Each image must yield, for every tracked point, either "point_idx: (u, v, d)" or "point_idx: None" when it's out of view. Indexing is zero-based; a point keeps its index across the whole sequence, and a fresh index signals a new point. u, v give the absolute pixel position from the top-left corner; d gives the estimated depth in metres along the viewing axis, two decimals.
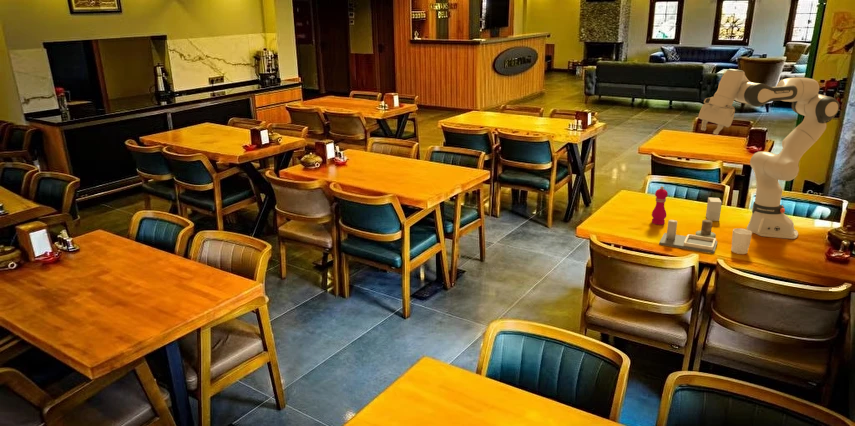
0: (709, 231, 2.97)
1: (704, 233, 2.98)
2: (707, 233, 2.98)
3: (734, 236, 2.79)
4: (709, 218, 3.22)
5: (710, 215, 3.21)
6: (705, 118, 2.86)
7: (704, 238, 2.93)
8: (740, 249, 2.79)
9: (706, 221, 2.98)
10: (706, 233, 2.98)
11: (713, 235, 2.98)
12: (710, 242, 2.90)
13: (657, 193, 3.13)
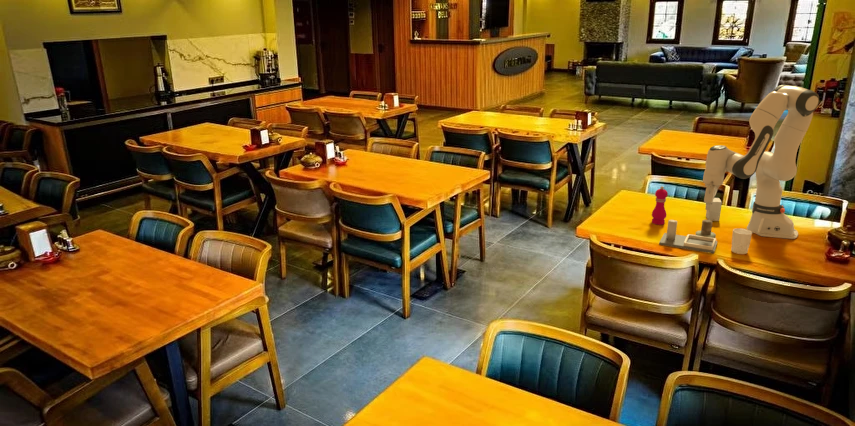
0: (709, 231, 2.97)
1: (704, 233, 2.98)
2: (707, 233, 2.98)
3: (734, 236, 2.79)
4: (709, 218, 3.22)
5: (710, 215, 3.21)
6: None
7: (704, 238, 2.93)
8: (740, 249, 2.79)
9: (706, 221, 2.98)
10: (706, 233, 2.98)
11: (713, 235, 2.98)
12: (710, 242, 2.90)
13: (657, 193, 3.13)
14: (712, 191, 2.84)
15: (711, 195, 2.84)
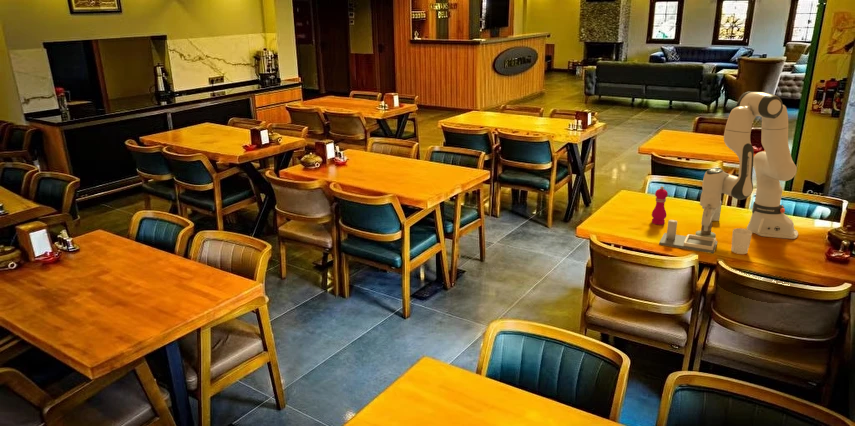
0: (709, 231, 2.97)
1: (704, 233, 2.98)
2: (707, 233, 2.98)
3: (734, 236, 2.79)
4: None
5: None
6: None
7: (704, 238, 2.93)
8: (740, 249, 2.79)
9: None
10: (706, 233, 2.98)
11: (713, 235, 2.98)
12: (710, 242, 2.90)
13: (657, 193, 3.13)
14: (709, 214, 2.87)
15: (708, 218, 2.88)
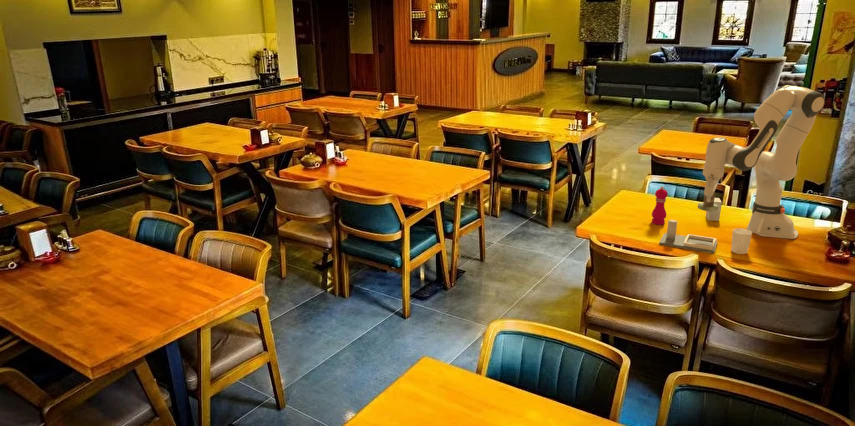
0: (711, 202, 2.90)
1: (707, 204, 2.91)
2: (710, 204, 2.91)
3: (734, 236, 2.79)
4: (709, 218, 3.22)
5: (710, 215, 3.21)
6: None
7: (704, 238, 2.93)
8: (740, 249, 2.79)
9: None
10: (709, 205, 2.91)
11: (716, 206, 2.91)
12: (710, 242, 2.90)
13: (657, 193, 3.13)
14: (712, 184, 2.81)
15: (711, 188, 2.81)
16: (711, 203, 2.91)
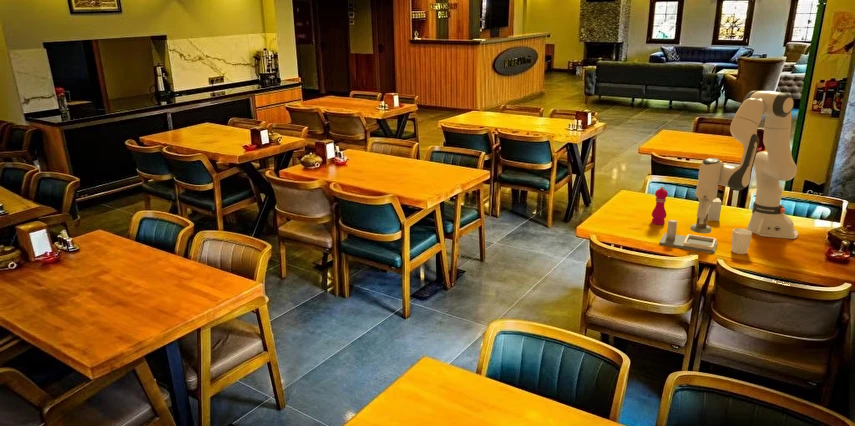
0: (704, 224, 2.84)
1: (699, 226, 2.85)
2: (702, 226, 2.84)
3: (734, 236, 2.79)
4: (709, 218, 3.22)
5: (710, 215, 3.21)
6: None
7: (704, 238, 2.93)
8: (740, 249, 2.79)
9: None
10: (701, 227, 2.84)
11: (709, 228, 2.84)
12: (710, 242, 2.90)
13: (657, 193, 3.13)
14: (705, 206, 2.74)
15: (704, 210, 2.74)
16: (704, 225, 2.84)
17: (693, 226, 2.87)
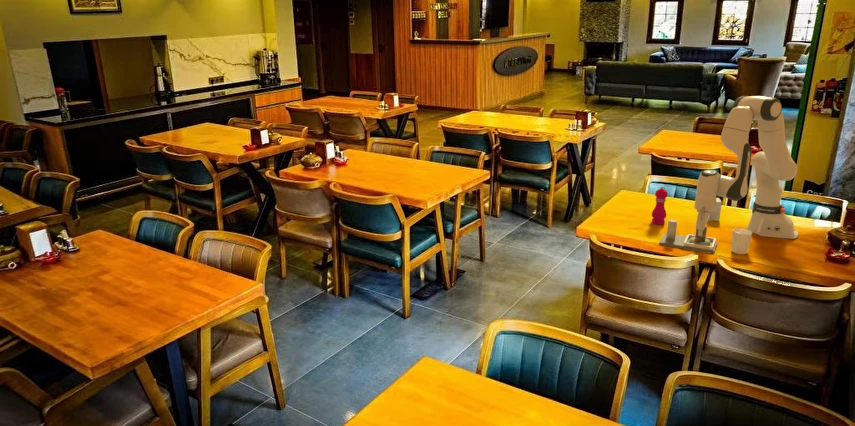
0: (703, 238, 2.86)
1: (698, 240, 2.87)
2: (701, 240, 2.86)
3: (734, 236, 2.79)
4: (709, 218, 3.22)
5: (710, 215, 3.21)
6: None
7: None
8: (740, 249, 2.79)
9: None
10: (700, 240, 2.86)
11: (708, 242, 2.86)
12: (710, 242, 2.90)
13: (657, 193, 3.13)
14: (704, 218, 2.76)
15: (703, 222, 2.76)
16: (703, 238, 2.86)
17: (692, 239, 2.90)
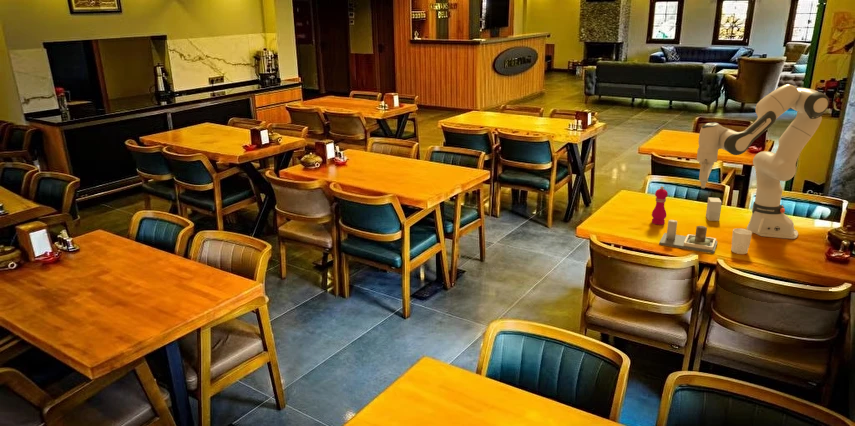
0: (703, 238, 2.86)
1: (698, 240, 2.87)
2: (701, 240, 2.86)
3: (734, 236, 2.79)
4: (709, 218, 3.22)
5: (710, 215, 3.21)
6: None
7: None
8: (740, 249, 2.79)
9: (700, 227, 2.87)
10: (700, 240, 2.86)
11: (708, 242, 2.86)
12: (710, 242, 2.90)
13: (657, 193, 3.13)
14: (706, 169, 2.83)
15: (706, 173, 2.83)
16: (703, 238, 2.86)
17: (692, 239, 2.90)
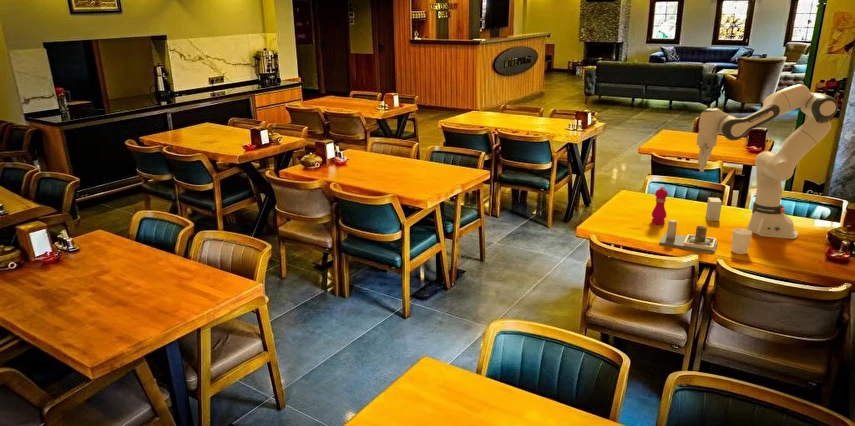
0: (703, 238, 2.86)
1: (698, 240, 2.87)
2: (701, 240, 2.86)
3: (734, 236, 2.79)
4: (709, 218, 3.22)
5: (710, 215, 3.21)
6: None
7: None
8: (740, 249, 2.79)
9: (700, 227, 2.87)
10: (700, 240, 2.86)
11: (708, 242, 2.86)
12: (710, 242, 2.90)
13: (657, 193, 3.13)
14: (705, 152, 2.90)
15: (705, 156, 2.90)
16: (703, 238, 2.86)
17: (692, 239, 2.90)
